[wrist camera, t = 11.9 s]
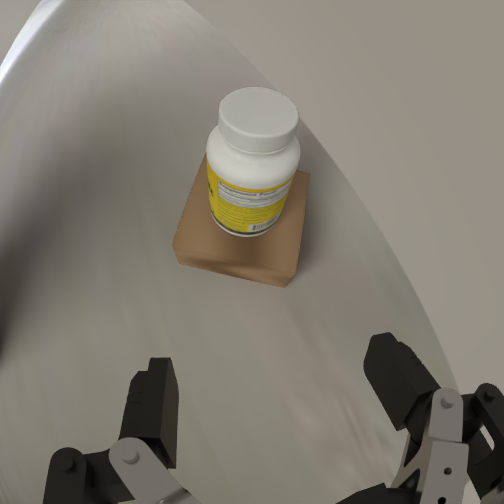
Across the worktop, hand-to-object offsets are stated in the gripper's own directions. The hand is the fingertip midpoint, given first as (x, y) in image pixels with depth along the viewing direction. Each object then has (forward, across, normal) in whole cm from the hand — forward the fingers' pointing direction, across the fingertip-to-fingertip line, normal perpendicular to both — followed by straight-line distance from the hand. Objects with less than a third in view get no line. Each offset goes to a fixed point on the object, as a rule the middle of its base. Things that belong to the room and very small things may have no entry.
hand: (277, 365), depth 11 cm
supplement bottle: (+14, 0, +2) cm, 14 cm away
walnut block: (+17, 0, 0) cm, 17 cm away
